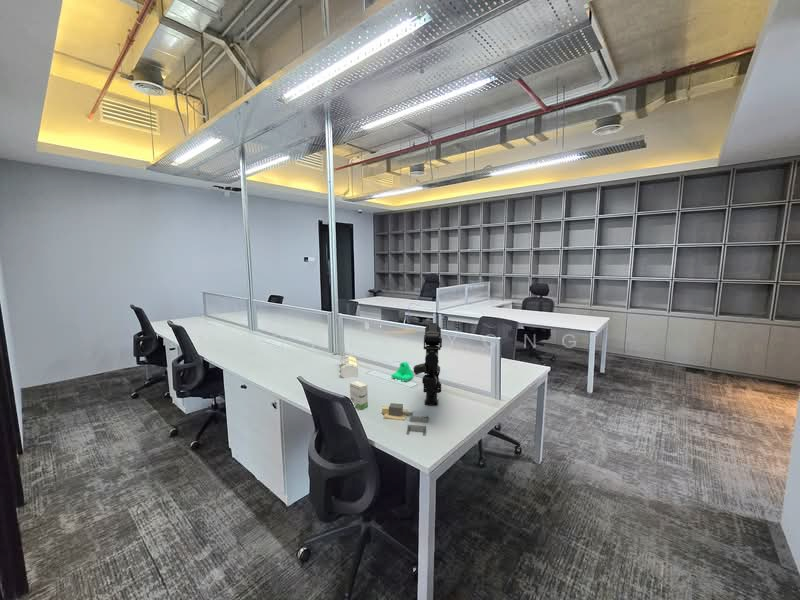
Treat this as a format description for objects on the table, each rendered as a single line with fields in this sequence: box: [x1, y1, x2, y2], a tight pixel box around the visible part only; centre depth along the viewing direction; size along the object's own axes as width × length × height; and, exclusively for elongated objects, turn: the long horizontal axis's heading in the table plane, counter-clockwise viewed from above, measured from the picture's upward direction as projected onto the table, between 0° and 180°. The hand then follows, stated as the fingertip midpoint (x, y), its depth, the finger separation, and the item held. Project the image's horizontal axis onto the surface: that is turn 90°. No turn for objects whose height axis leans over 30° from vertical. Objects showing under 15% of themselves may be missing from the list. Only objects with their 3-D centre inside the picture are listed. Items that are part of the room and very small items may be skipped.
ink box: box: [349, 380, 369, 411], centre depth 164 cm, size 9×5×12 cm, turn 47°
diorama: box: [340, 348, 359, 379], centre depth 216 cm, size 25×10×13 cm, turn 11°
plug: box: [381, 402, 414, 416], centre depth 156 cm, size 4×14×4 cm, turn 81°
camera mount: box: [390, 361, 415, 382], centre depth 203 cm, size 12×8×10 cm, turn 54°
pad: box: [383, 408, 409, 421], centre depth 156 cm, size 10×10×1 cm
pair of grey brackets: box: [406, 414, 429, 436], centre depth 145 cm, size 16×8×2 cm, turn 171°
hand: (431, 391), depth 153 cm, fingers open, 9 cm apart
